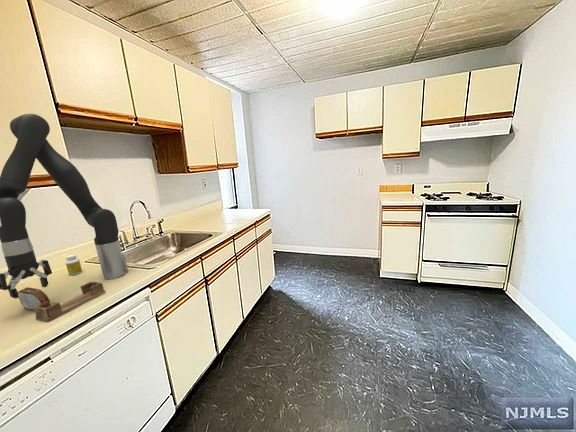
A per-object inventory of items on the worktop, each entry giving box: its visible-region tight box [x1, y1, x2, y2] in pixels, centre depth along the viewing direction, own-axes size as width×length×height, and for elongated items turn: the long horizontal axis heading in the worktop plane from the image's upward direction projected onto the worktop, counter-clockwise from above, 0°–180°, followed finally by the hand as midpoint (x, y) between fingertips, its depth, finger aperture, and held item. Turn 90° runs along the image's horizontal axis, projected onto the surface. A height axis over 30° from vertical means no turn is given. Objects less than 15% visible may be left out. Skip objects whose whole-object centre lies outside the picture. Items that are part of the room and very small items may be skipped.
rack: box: [33, 280, 107, 323], centre depth 97 cm, size 7×20×5 cm, turn 161°
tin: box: [17, 286, 51, 312], centre depth 96 cm, size 15×3×8 cm, turn 70°
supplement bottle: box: [65, 254, 83, 277], centre depth 129 cm, size 5×5×10 cm
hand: (31, 292), depth 95 cm, fingers open, 8 cm apart
